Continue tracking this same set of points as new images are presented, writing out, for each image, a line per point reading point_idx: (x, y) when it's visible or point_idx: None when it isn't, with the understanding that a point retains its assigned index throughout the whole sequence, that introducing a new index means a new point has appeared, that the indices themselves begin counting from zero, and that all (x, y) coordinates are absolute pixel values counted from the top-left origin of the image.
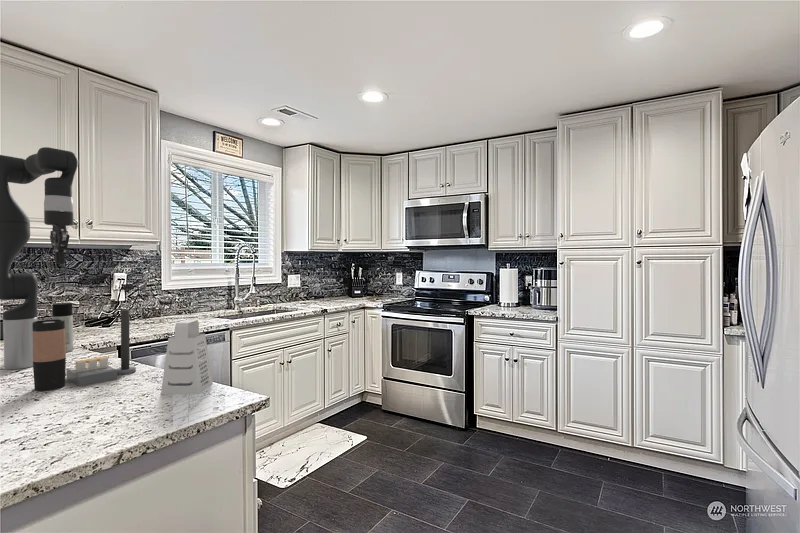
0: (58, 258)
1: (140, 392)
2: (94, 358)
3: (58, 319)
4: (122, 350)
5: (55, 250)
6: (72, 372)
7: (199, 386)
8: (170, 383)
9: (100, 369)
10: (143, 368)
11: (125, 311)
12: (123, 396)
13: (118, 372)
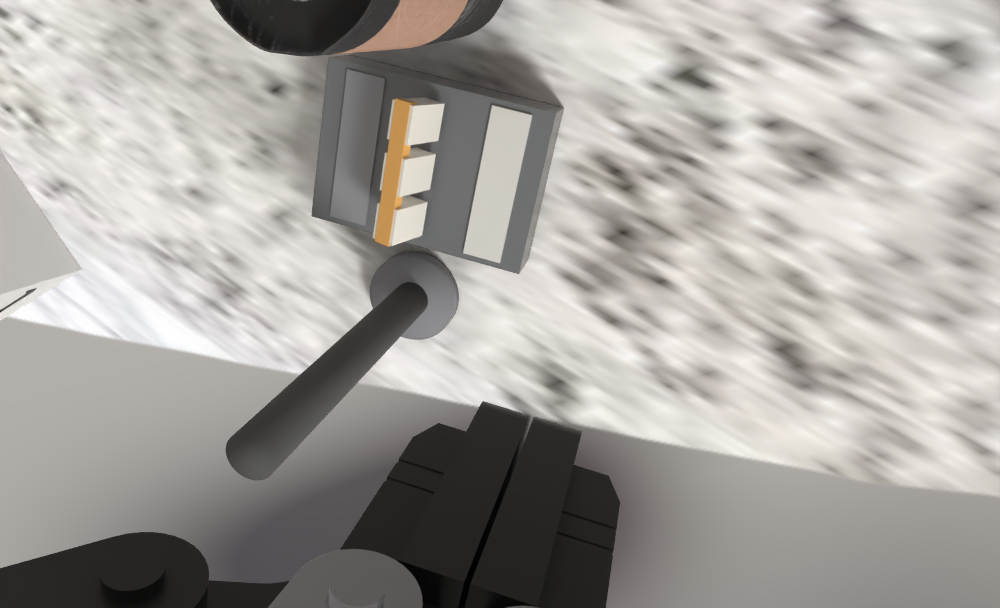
0: (406, 467)
1: (71, 127)
2: (395, 188)
3: (338, 43)
4: (364, 318)
5: (337, 567)
6: (447, 87)
7: None
8: (24, 216)
9: None
10: (419, 372)
11: (232, 439)
12: (67, 63)
13: (395, 256)
